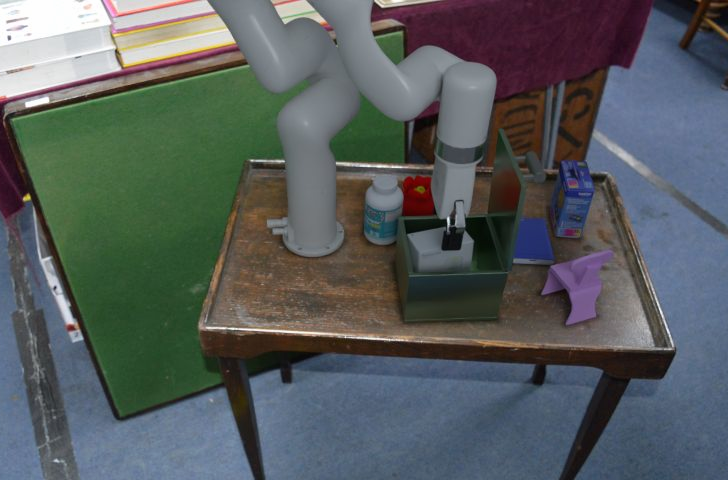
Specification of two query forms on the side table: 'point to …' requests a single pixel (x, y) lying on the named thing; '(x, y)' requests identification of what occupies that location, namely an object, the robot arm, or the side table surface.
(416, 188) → the flower
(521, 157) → the green box lid
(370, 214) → the pill bottle
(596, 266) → the purple stand
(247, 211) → the side table surface
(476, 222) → the green open box
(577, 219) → the ink cartridge box
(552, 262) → the hard drive
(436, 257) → the cosmetics box
